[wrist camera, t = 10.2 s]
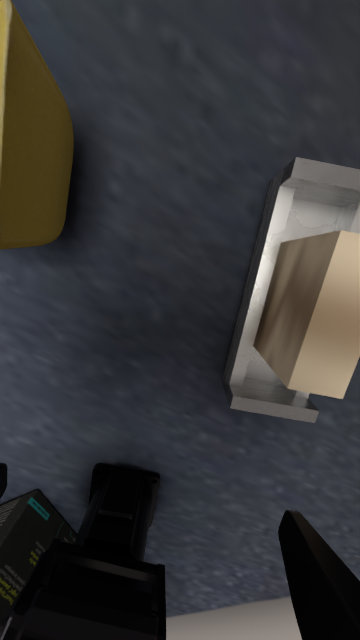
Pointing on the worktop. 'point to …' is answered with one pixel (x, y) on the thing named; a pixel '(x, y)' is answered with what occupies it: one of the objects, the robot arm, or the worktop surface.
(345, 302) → the door panel
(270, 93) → the worktop surface
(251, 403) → the bottom track
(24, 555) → the tampon box
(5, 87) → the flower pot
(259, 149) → the worktop surface
